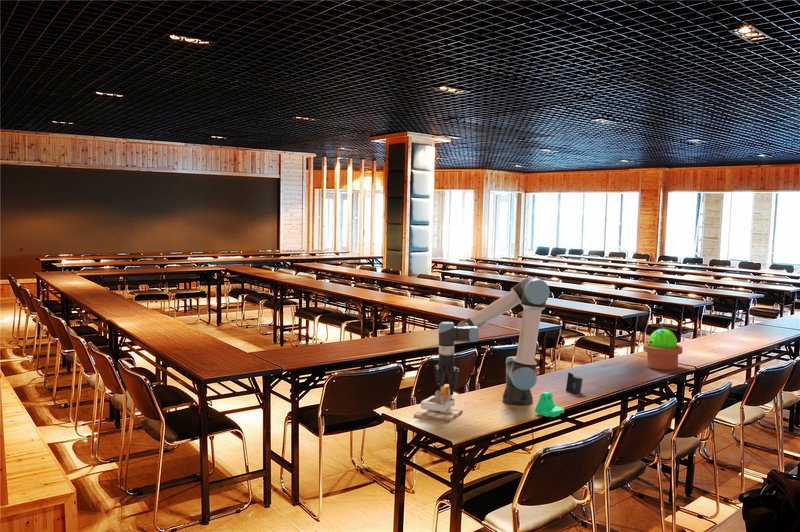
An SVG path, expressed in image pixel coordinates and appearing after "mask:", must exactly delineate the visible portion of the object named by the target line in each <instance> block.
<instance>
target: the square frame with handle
mask: <svg viewBox="0 0 800 532" xmlns="http://www.w3.org/2000/svg"><path fill="white" fill-rule="evenodd" d="M449 388H450V387H449V383H444V385H443V386H441V404H440V403H436V395H431V396H429V397H428V398H426V399H423V400H421V402H420V409H423V408H424V409H430V410H436V411H442V412H444V411H446V410H448V409H449V408H452V407H454V406H455V405H456V404H455V403H456V402H455V401H456V398H453V397H452V398H448V389H449Z"/></svg>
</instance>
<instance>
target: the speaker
mask: <svg viewBox="0 0 800 532" xmlns="http://www.w3.org/2000/svg"><path fill="white" fill-rule="evenodd" d="M582 386H583V377H580V376H577V375H576V376H575V375H574V374H573V373H571V372H569V371H568V373H567V379H566V386H565V387H566V388H565V391H566V392H567V391H568V392H567V393H568V394H570V393H571V394H572V393H575V394H581V392H582Z"/></svg>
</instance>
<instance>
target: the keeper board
mask: <svg viewBox="0 0 800 532" xmlns="http://www.w3.org/2000/svg"><path fill="white" fill-rule="evenodd" d="M434 396H436V403H440V404H441V391H440V389H438V390H436V391H435V392H434ZM461 413H462V414H464V413H463V409H456V408H452V407H451V408H449V409H448V410H446V411H444V412H442V411H436V410H430V409H424V408H420V410H418V411H416V412H415V413H413V418H418V419H423V420H429V419H430V421H435V420H436V422H440V421H443V422H442V423H446V422H447V424H448V423H450V422H452V421H453V420H454V418H455V419H456V418H458V417H459V416H460V415H462V414H461ZM457 416H458V417H457ZM451 420H452V421H451Z"/></svg>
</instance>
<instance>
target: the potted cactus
mask: <svg viewBox="0 0 800 532" xmlns="http://www.w3.org/2000/svg"><path fill="white" fill-rule="evenodd" d="M642 350H643V352H645V353H646V354H647V355H646V365H647V367H648V368H650V369H654V370H658V371H659V370H660V371H674V370H677V369H678V368H679V355H682V354H683V346H682V345H680V344H678V339H677V337H676V335H675V334H674V333H673V331H671V330H670V329H667V328H657V329H656V330H654V331H653V332H652V333H651V334H650V336H649V338H648V342H646V343H645V342H644V343H643V346H642Z"/></svg>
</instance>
